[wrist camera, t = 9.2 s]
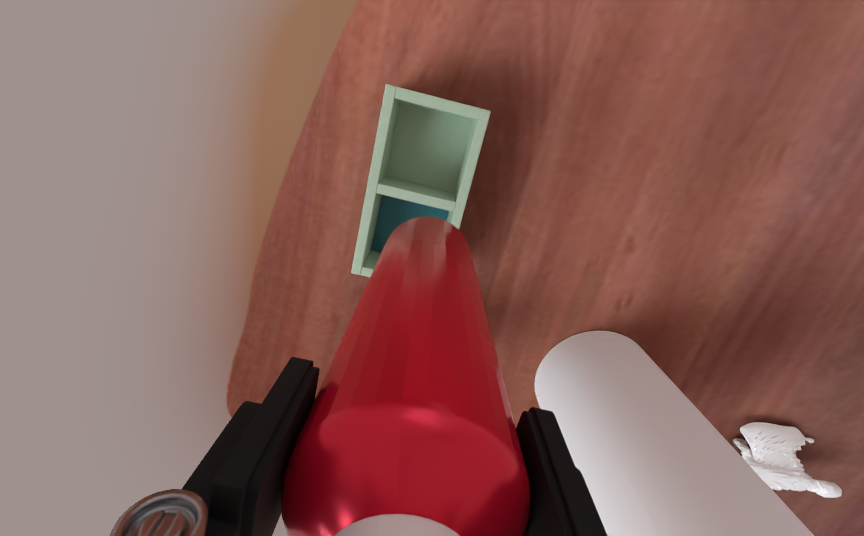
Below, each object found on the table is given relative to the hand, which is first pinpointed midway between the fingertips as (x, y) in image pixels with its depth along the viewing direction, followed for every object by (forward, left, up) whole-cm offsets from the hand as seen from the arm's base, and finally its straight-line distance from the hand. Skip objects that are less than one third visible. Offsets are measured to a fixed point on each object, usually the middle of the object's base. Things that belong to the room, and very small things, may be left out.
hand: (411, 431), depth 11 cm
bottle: (0, 0, -15) cm, 15 cm away
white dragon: (+19, +42, -29) cm, 54 cm away
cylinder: (+14, +21, -29) cm, 39 cm away
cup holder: (-2, -2, -29) cm, 29 cm away
